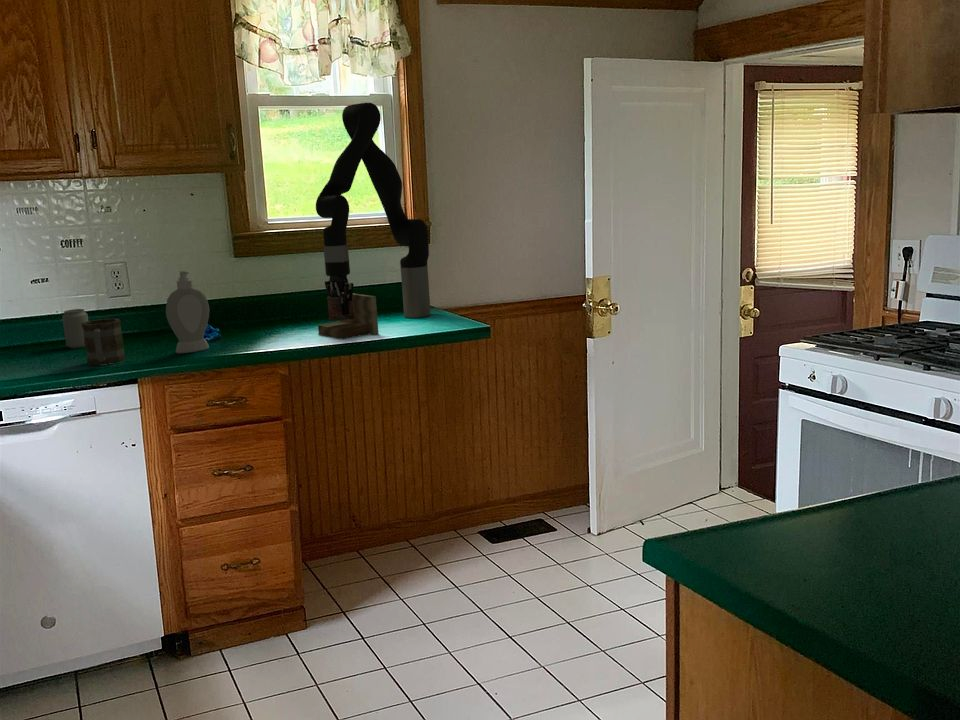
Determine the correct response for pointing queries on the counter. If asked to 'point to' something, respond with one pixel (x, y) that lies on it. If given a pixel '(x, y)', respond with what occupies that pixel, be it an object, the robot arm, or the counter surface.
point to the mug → (103, 341)
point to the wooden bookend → (355, 320)
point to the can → (74, 327)
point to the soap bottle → (188, 315)
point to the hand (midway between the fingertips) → (341, 313)
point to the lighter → (338, 308)
